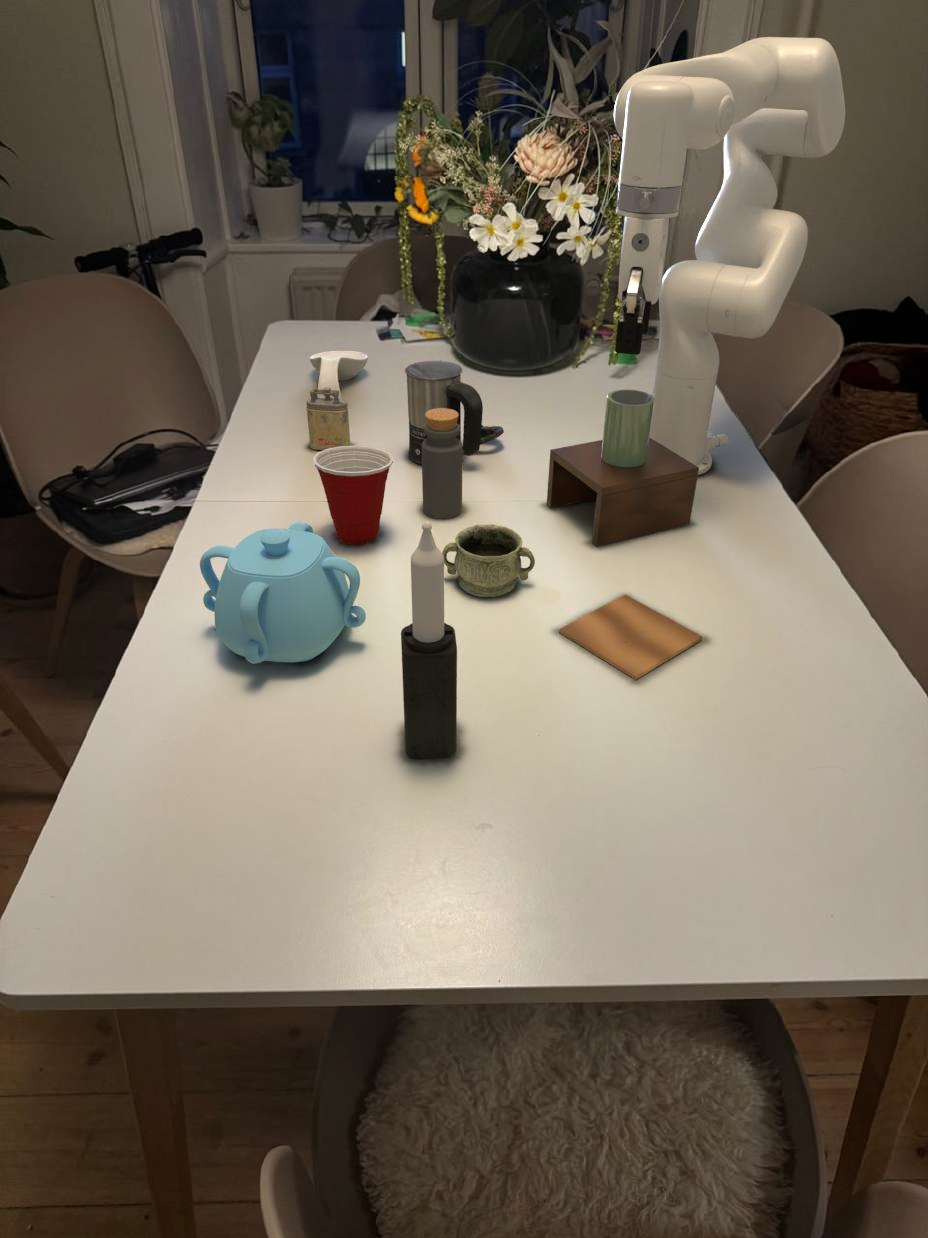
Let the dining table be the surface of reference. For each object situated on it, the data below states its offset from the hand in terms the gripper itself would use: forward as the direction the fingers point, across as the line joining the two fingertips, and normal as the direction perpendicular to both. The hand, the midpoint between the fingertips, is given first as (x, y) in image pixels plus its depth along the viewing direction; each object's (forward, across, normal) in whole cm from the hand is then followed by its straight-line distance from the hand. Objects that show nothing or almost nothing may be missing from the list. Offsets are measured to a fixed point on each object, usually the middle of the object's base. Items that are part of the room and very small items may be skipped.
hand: (631, 342), depth 116 cm
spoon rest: (+26, +40, +60) cm, 77 cm away
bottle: (+26, -6, +24) cm, 36 cm away
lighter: (+26, +11, +50) cm, 57 cm away
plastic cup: (+26, -16, +34) cm, 46 cm away
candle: (+26, -55, +11) cm, 62 cm away
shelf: (+26, 0, -1) cm, 26 cm away
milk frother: (+26, +16, +28) cm, 42 cm away
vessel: (+26, -23, +13) cm, 37 cm away
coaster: (+26, -31, -6) cm, 40 cm away
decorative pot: (+26, -42, +33) cm, 59 cm away
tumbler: (+17, 0, -1) cm, 17 cm away
